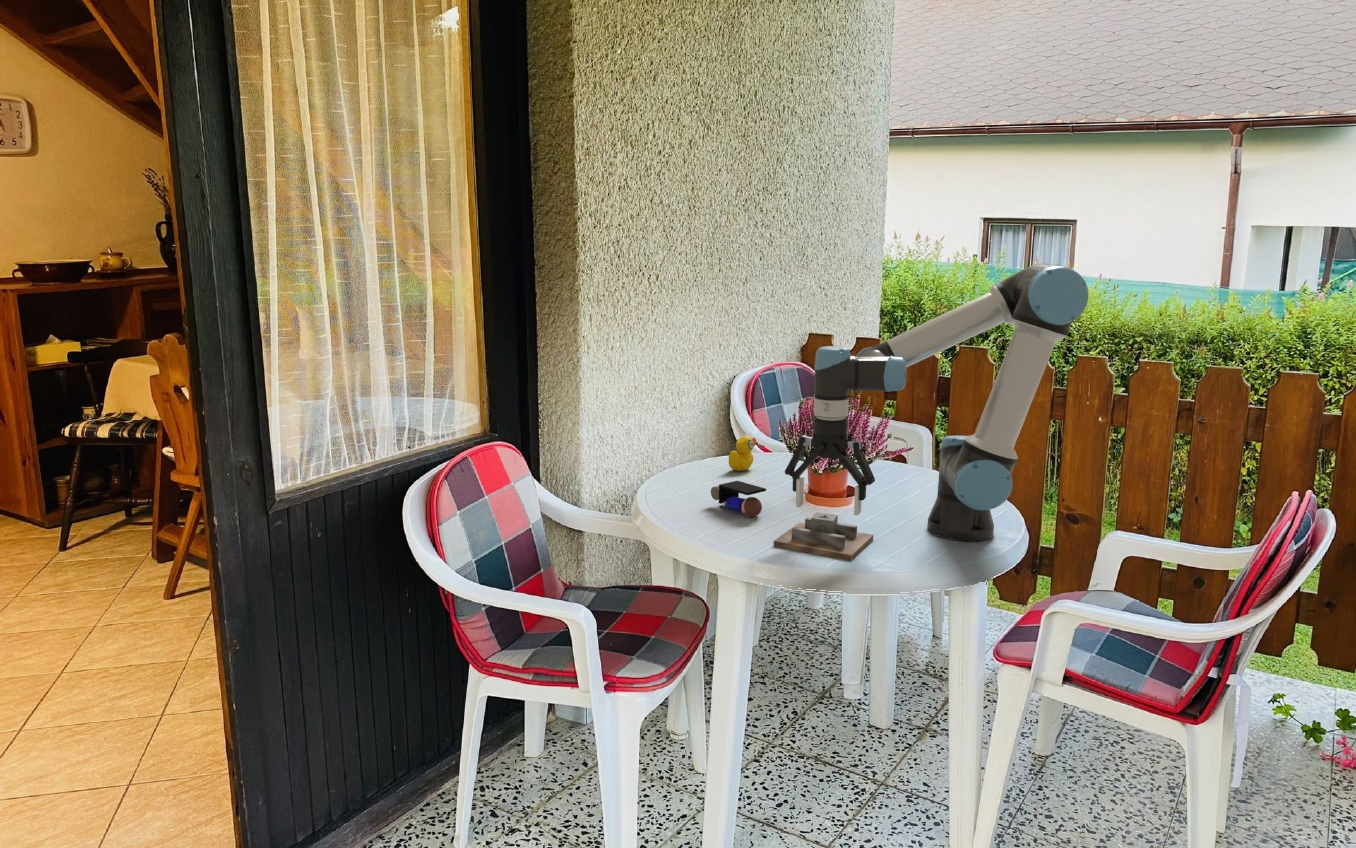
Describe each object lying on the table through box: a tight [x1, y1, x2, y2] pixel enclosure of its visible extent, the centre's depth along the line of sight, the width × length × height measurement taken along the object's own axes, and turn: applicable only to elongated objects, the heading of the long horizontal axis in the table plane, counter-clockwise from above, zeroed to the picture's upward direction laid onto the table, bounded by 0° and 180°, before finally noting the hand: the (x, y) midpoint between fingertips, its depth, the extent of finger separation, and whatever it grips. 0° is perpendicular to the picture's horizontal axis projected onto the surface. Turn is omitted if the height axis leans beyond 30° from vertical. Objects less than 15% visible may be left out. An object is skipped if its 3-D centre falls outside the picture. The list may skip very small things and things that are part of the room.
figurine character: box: [710, 480, 767, 518], centre depth 234 cm, size 7×8×15 cm
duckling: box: [728, 435, 757, 472], centre depth 274 cm, size 11×5×10 cm, turn 139°
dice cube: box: [810, 512, 839, 534], centre depth 212 cm, size 5×5×5 cm
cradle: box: [773, 517, 874, 561], centre depth 212 cm, size 18×16×4 cm
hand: (828, 509), depth 211 cm, fingers open, 13 cm apart
